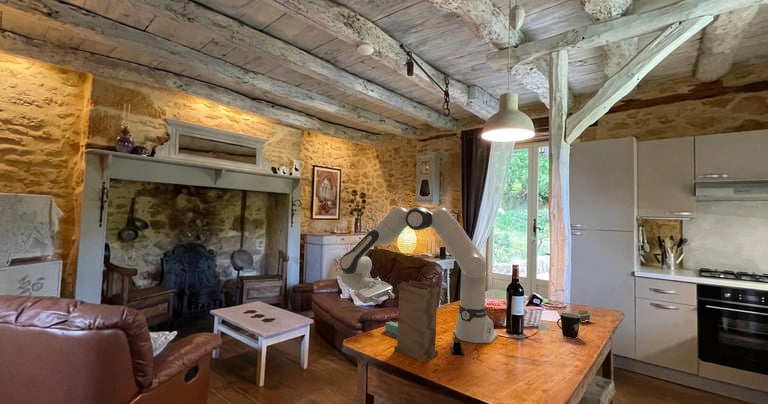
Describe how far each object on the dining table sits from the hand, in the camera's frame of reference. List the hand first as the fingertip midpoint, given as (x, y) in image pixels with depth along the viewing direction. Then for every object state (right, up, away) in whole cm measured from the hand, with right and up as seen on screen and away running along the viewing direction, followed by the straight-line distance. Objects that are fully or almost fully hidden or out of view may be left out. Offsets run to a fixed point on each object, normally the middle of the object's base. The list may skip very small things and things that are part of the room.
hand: (387, 299), depth 164 cm
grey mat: (+9, -15, -8) cm, 19 cm away
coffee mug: (+86, -18, +3) cm, 88 cm away
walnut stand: (+11, -14, -26) cm, 31 cm away
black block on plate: (+28, -16, -22) cm, 39 cm away
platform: (+109, -21, +28) cm, 114 cm away
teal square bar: (+8, -14, -8) cm, 18 cm away
